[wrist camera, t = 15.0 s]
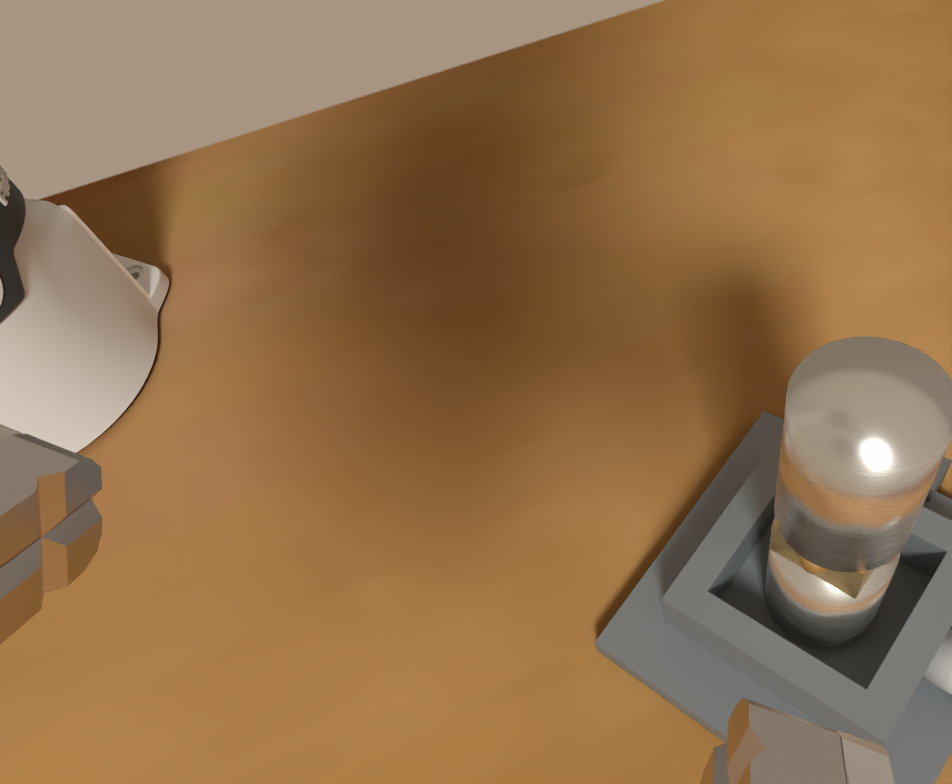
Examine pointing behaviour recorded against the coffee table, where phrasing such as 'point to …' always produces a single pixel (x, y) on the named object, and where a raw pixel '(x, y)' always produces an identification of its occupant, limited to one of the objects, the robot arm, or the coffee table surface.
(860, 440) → the coupler
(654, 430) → the coffee table surface
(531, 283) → the coffee table surface
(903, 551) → the shaft housing
